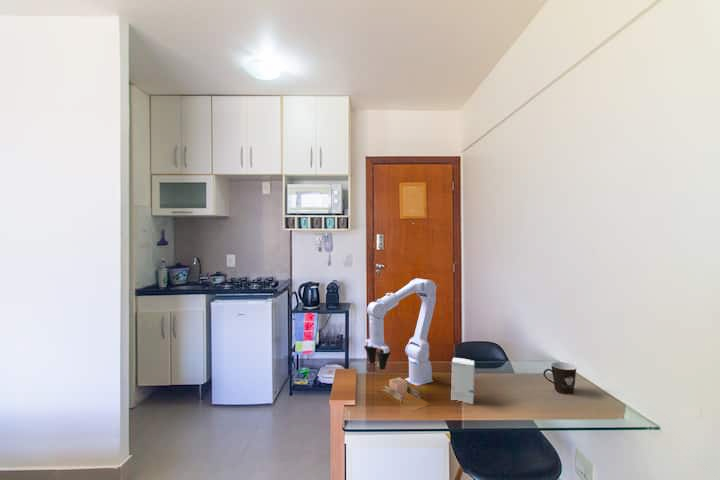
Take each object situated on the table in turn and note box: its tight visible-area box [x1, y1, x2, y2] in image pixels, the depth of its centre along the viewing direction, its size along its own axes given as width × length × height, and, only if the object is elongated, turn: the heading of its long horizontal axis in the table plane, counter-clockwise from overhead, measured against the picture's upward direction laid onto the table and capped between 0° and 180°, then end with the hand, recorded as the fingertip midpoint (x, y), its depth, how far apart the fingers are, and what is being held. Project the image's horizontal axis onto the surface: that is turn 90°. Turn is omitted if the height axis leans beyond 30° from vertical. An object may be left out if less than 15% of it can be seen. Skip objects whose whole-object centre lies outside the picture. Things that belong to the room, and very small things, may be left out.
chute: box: [382, 384, 420, 403], centre depth 129 cm, size 12×8×2 cm
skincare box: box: [450, 357, 476, 405], centre depth 125 cm, size 8×6×15 cm
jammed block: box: [388, 376, 408, 395], centre depth 130 cm, size 5×5×5 cm
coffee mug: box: [543, 361, 577, 395], centre depth 132 cm, size 12×9×10 cm
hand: (377, 366), depth 134 cm, fingers open, 7 cm apart
